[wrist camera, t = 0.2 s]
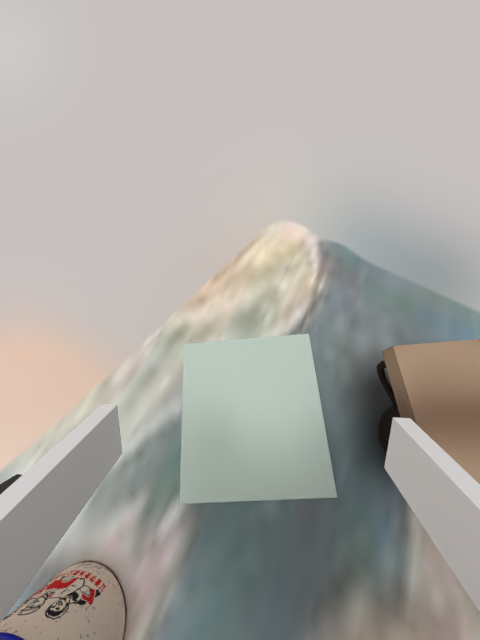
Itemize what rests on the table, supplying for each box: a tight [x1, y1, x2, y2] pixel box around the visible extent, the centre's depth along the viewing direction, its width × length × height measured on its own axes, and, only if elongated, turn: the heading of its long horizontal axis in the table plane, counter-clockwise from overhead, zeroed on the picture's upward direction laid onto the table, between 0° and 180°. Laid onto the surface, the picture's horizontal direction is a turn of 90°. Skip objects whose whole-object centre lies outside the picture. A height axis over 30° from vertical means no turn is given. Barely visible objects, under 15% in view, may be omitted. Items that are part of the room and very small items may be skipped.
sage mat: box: [179, 334, 337, 504], centre depth 26 cm, size 16×15×1 cm
